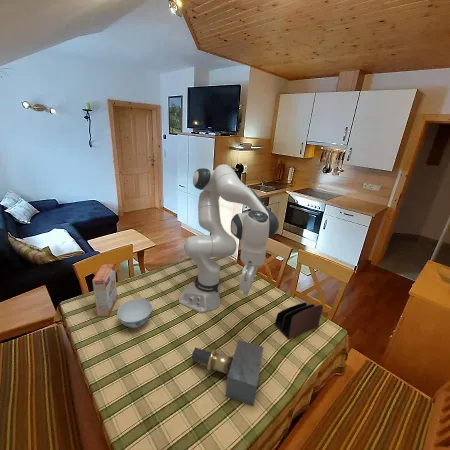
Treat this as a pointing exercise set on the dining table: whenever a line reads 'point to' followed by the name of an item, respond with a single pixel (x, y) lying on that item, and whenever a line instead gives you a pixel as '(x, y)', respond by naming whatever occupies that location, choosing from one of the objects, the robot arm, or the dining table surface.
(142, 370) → the dining table surface
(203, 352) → the brass flanged shaft
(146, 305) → the chinaware
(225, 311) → the dining table surface
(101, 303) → the cracker box
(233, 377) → the housing
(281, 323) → the letter holder
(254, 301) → the dining table surface
